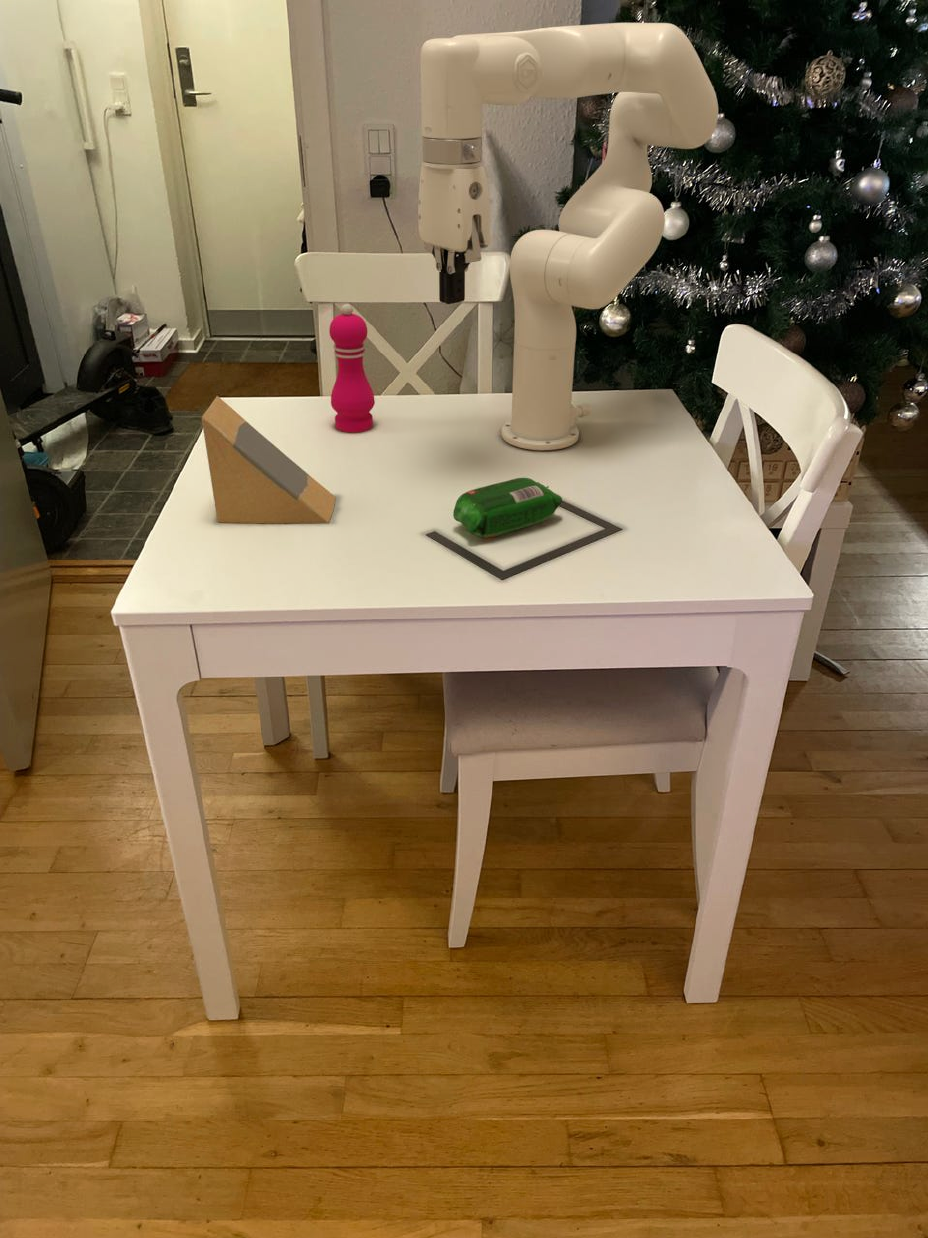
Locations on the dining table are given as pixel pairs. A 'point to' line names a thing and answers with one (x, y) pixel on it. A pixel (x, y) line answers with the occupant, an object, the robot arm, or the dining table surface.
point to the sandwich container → (257, 475)
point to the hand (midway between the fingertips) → (452, 301)
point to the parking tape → (537, 560)
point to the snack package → (505, 507)
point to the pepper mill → (351, 373)
